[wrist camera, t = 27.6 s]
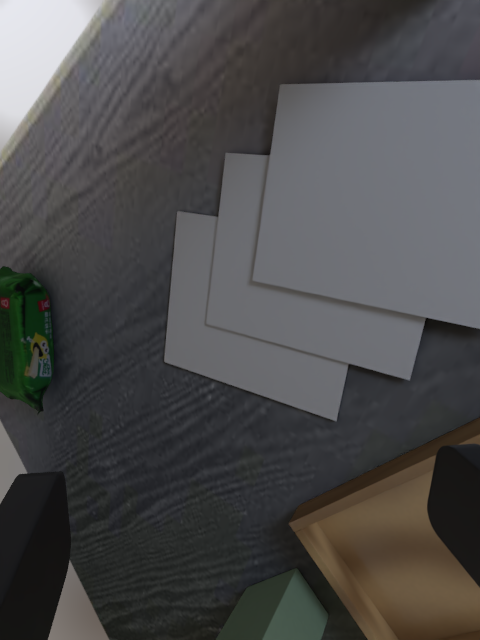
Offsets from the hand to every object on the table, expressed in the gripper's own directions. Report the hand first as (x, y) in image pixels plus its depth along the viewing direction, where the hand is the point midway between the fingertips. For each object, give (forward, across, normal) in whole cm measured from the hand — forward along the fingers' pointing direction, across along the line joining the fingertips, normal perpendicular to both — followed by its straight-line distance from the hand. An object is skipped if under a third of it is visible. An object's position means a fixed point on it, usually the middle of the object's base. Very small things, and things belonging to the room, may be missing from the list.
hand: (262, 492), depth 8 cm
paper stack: (+22, -8, -2) cm, 23 cm away
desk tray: (+14, -17, +17) cm, 28 cm away
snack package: (+40, +17, +9) cm, 44 cm away
